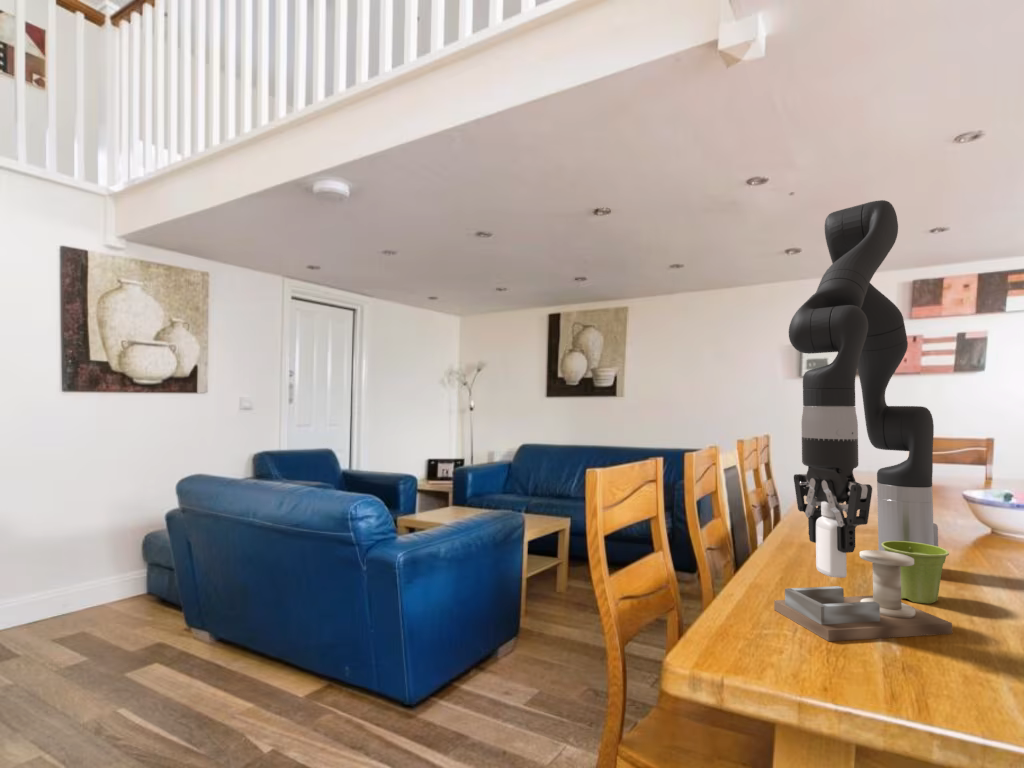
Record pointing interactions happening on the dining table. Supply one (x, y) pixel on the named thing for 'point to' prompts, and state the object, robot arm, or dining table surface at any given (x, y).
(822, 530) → the eye dropper bottle
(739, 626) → the dining table surface
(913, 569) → the plant pot
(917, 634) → the board
